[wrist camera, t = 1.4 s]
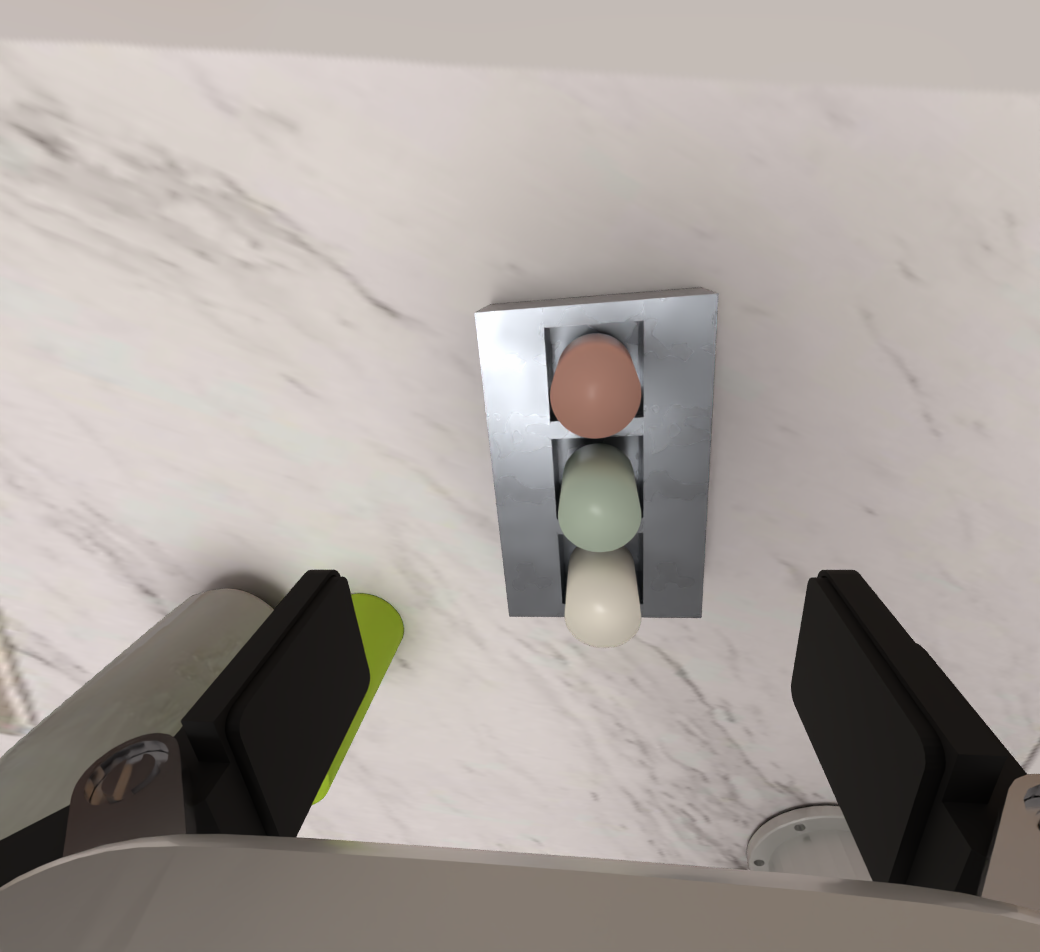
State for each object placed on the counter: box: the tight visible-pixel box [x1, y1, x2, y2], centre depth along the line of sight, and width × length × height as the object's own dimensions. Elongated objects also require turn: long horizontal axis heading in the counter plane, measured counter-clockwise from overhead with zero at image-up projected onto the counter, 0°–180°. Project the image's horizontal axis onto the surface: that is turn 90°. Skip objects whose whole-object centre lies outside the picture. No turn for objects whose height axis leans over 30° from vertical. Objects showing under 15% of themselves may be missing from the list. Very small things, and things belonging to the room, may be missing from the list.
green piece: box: [558, 443, 641, 552], centre depth 28 cm, size 4×4×5 cm
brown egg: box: [550, 333, 641, 439], centre depth 26 cm, size 4×4×5 cm
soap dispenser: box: [312, 594, 404, 805], centre depth 33 cm, size 6×7×20 cm
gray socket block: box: [475, 287, 718, 618], centre depth 32 cm, size 12×19×4 cm, turn 5°
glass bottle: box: [0, 588, 274, 840], centre depth 31 cm, size 10×10×28 cm
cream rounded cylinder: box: [565, 546, 641, 648], centre depth 31 cm, size 4×4×5 cm
